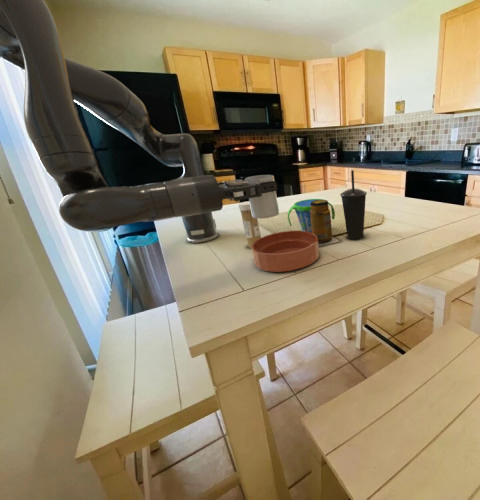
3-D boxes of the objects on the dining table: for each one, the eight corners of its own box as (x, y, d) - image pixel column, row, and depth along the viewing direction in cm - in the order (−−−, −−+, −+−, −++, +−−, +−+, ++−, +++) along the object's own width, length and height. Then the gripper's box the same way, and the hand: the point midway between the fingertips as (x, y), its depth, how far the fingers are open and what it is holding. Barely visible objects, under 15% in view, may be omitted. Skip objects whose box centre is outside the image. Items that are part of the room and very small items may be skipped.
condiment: (328, 234, 88) (325, 197, 84) (340, 241, 81) (337, 202, 77) (307, 239, 86) (302, 201, 81) (317, 247, 78) (313, 206, 74)
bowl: (261, 249, 80) (258, 233, 78) (318, 244, 81) (317, 228, 79) (248, 276, 64) (244, 257, 62) (320, 269, 65) (318, 250, 63)
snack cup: (290, 240, 86) (285, 208, 82) (289, 230, 95) (285, 201, 92) (338, 234, 88) (336, 203, 84) (333, 224, 97) (331, 196, 93)
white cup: (255, 212, 68) (248, 176, 65) (280, 210, 68) (274, 174, 65) (249, 219, 62) (242, 179, 59) (277, 217, 63) (271, 177, 59)
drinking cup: (339, 240, 82) (334, 172, 74) (347, 232, 88) (344, 169, 81) (363, 242, 79) (361, 171, 72) (370, 233, 86) (369, 168, 78)
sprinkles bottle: (264, 245, 83) (256, 202, 78) (250, 249, 80) (241, 205, 75) (259, 241, 86) (251, 199, 81) (245, 245, 84) (236, 202, 79)
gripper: (194, 180, 49) (280, 169, 57) (184, 175, 60) (257, 166, 68) (205, 220, 52) (285, 204, 60) (193, 208, 63) (262, 196, 71)
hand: (270, 184), depth 64 cm, fingers closed on white cup, 6 cm apart
